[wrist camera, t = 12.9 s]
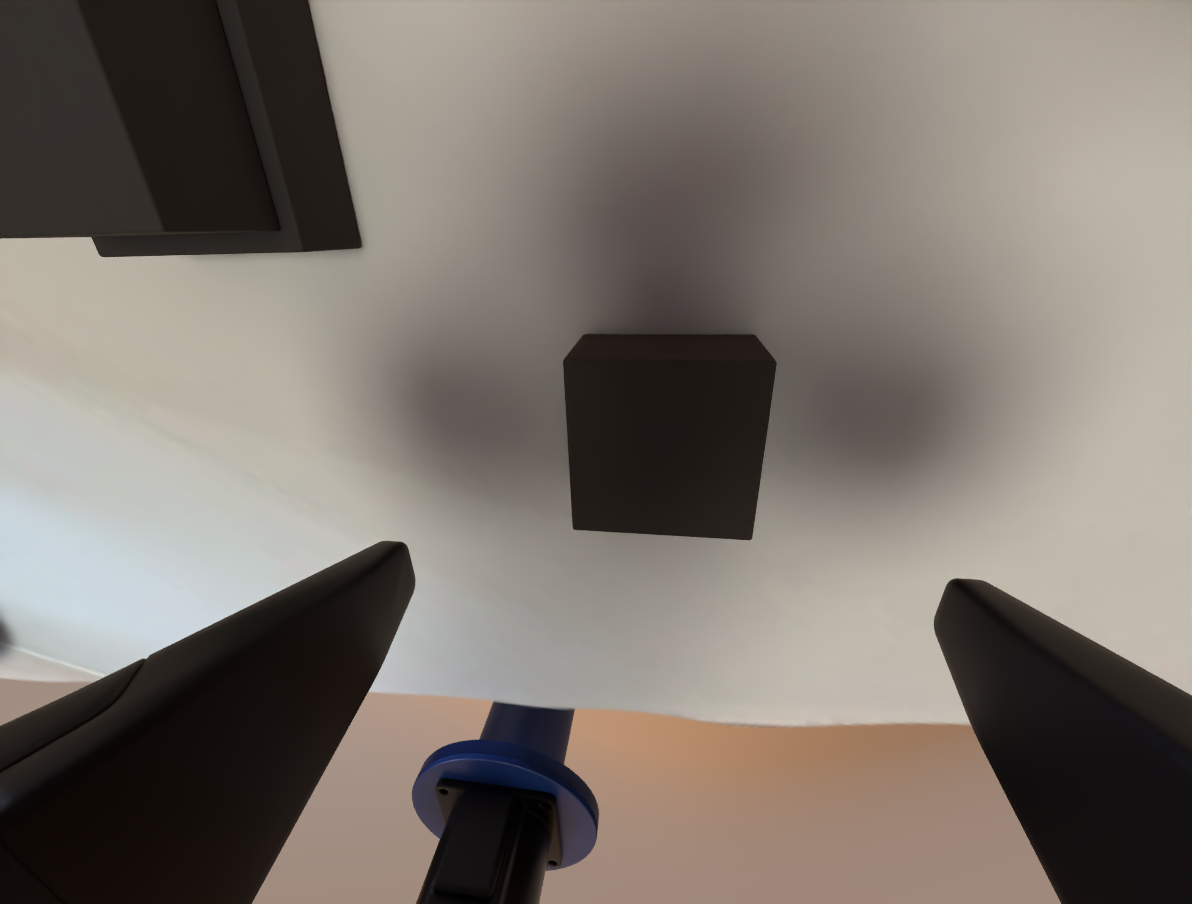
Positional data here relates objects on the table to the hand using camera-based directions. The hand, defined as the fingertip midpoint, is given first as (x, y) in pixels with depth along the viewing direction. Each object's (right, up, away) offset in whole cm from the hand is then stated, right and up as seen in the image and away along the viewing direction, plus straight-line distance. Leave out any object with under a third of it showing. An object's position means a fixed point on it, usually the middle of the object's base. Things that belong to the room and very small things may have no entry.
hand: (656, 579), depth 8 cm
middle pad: (-11, +10, +3) cm, 15 cm away
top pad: (+1, +3, +7) cm, 8 cm away
